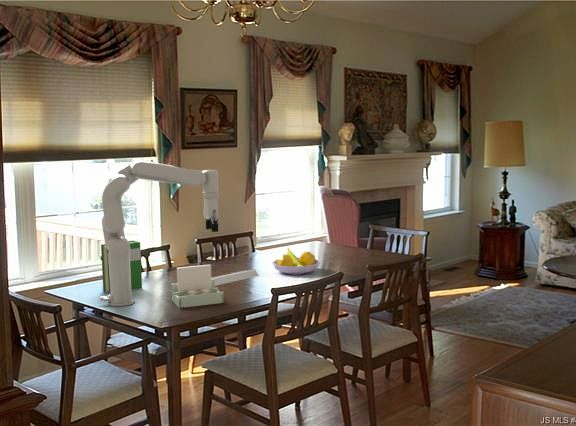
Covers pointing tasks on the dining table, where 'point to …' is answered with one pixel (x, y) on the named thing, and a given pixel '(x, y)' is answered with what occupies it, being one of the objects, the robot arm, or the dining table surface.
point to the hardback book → (134, 266)
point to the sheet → (194, 277)
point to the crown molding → (234, 277)
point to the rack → (196, 297)
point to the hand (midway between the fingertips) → (212, 230)
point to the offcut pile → (197, 292)
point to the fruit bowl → (296, 263)
